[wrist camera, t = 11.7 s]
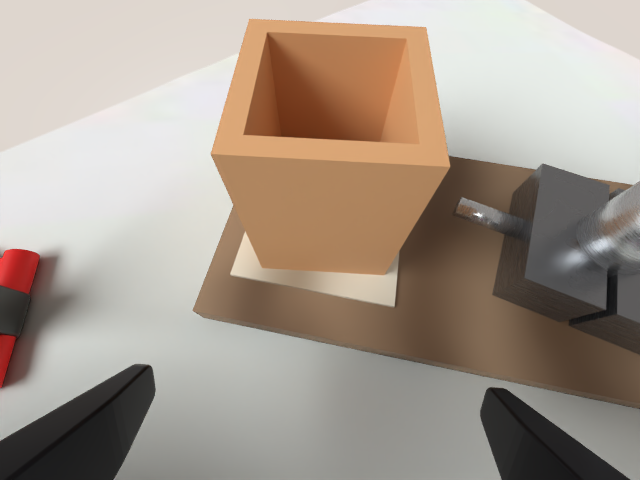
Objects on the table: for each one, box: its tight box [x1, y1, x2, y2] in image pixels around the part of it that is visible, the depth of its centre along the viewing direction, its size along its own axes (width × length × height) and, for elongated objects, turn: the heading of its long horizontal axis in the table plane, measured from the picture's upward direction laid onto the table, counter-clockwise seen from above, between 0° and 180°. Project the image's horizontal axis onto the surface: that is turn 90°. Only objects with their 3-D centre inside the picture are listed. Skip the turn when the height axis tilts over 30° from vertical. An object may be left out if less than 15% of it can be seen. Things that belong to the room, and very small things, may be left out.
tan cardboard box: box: [211, 19, 450, 275], centre depth 12 cm, size 6×6×8 cm
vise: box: [453, 164, 640, 355], centre depth 13 cm, size 7×10×6 cm
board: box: [193, 156, 640, 409], centre depth 16 cm, size 23×12×2 cm, turn 79°
